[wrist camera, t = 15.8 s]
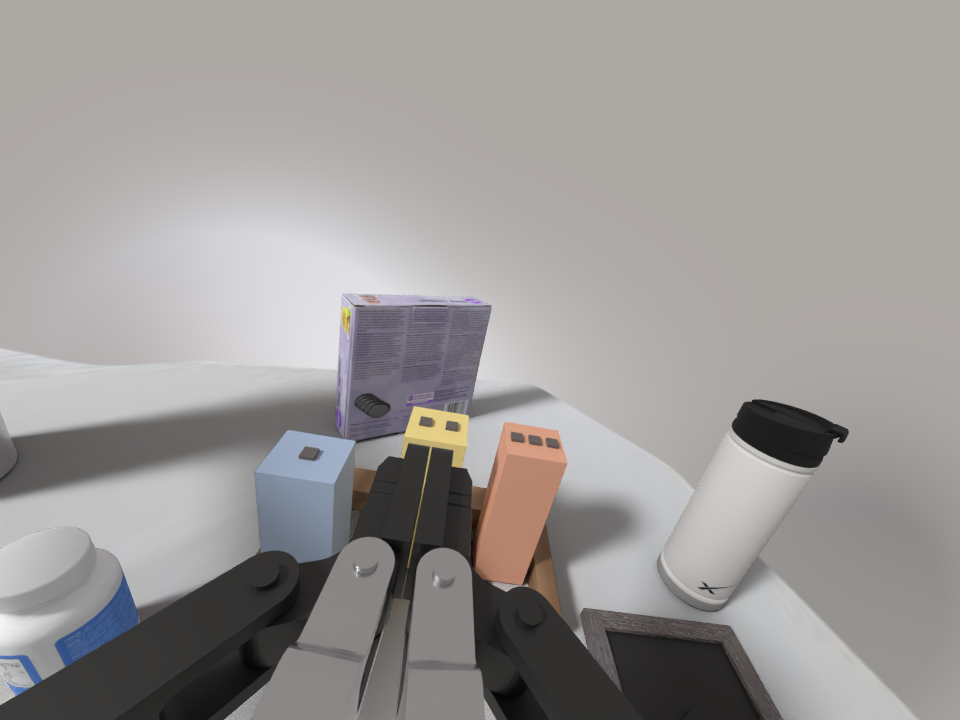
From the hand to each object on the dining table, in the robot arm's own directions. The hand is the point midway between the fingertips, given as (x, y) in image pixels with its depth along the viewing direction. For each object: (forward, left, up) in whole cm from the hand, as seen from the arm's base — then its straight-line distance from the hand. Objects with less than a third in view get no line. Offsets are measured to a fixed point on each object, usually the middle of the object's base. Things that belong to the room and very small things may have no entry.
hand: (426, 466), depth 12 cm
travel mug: (+3, +31, -23) cm, 38 cm away
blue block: (-11, -1, -22) cm, 25 cm away
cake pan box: (-30, +16, -23) cm, 41 cm away
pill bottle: (-13, -14, -23) cm, 30 cm away
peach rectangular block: (-7, +14, -22) cm, 27 cm away
